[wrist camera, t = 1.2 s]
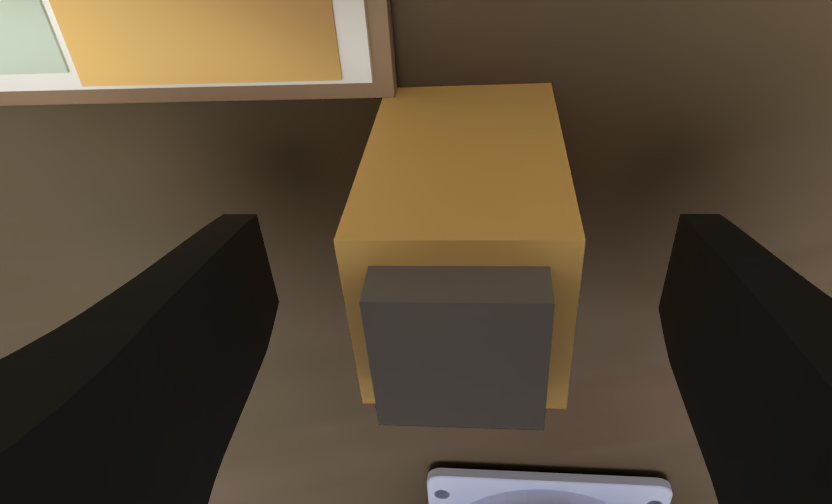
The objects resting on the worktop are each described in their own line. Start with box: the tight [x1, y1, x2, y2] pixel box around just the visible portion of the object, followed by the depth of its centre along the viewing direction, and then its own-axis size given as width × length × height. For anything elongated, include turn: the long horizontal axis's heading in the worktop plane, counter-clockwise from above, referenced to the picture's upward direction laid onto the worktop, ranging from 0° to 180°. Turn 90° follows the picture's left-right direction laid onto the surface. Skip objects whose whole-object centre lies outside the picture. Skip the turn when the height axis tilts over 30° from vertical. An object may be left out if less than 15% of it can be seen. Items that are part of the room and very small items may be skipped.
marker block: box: [333, 83, 586, 430], centre depth 12 cm, size 4×4×6 cm
